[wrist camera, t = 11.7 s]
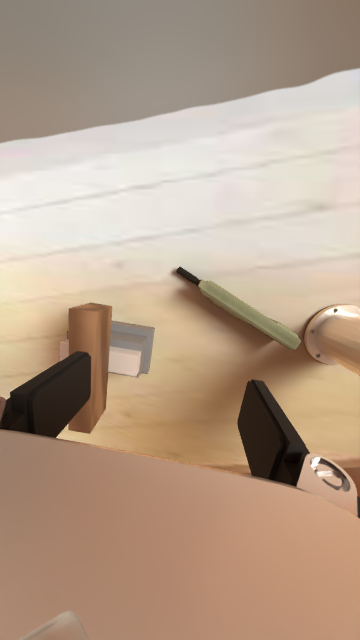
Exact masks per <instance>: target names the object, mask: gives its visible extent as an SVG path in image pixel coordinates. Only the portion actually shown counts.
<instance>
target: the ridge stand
mask: <svg viewBox="0 0 360 640" xmlns="http://www.w3.org/2000/svg"><path fill="white" fill-rule="evenodd" d="M154 329H155V328H153V327H147V326H141V325H135V324H129V323H123V322H117V321H111V334H110V350H109V365H108V372H109V373H115V374H121V375H127V376H132V377H139V375H140V373H144V374H148V371H149V368H150V360H151V353H152V345H153V337H154ZM59 353H60V361H62V360H63V359H65V358H66V357H68V356H69V331H67V339H66V340H64V341H62V342H60V343H59Z"/></svg>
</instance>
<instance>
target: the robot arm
mask: <svg viewBox="0 0 360 640" xmlns="http://www.w3.org/2000/svg"><path fill="white" fill-rule="evenodd" d="M304 342H305V347H306V349H307V351H308V352H309V354H310V355H311V356H312V357H314V358H315V359H316V360H318V361H320V362H322V363H325V364H329V365H339V364H340V365H342V366H344V367H345V368H347V369H349V370H351V371H352V372H354V373H356V374H358V375H359V376H360V307H358V306H354V305H348V304H338V305H333V306H330V307H328V308H325V309H324V310H322V311H320V312H319V313H318V314H317V315H315V316H314V317H313V319H312V320H311V321H310V323H309V324H308V326H307V328H306V331H305V336H304ZM90 395H91V356H90V355H89V353H88V352H82V351H76V352H75V353H73V354H71V355H70V356H68V357H66V358H65V359H63V360H62V361H60V362H58V363H57V364H55V365H53V366H52V367H50V368H49V369H47V370H45V371H44V372H42V373H40V374H39V375H37V376H36V377H34V378H32V379H31V380H29V381H28V382H26V383H24V384H23V385H21V386H19V387H18V388H16V389H15V390H13V391H11V392H10V398H9V399H7V400H6V399H5V398H3V397H0V640H360V498H359V497H358V496H357V490H356V486H355V484H354V482H353V480H352V479H351V478H350V477H349V475H348V474H347V473H346V472H345V471H344V470H343V469H342V468H341V467H340V466H339V465H337V464H336V463H335V462H333V461H332V460H330V459H328V458H326V457H325V456H322V455H319V454H315V453H311V454H310V452H309V451H308V449H307V448H306V445H305V444H304V442H303V441H302V439H301V438H300V436H299V435H298V433H297V431H296V430H295V428H294V427H293V425H292V424H291V422H290V421H289V419H288V418H287V416H286V415H285V413H284V412H283V410H282V409H281V407H280V406H279V404H278V403H277V401H276V400H275V398H274V397H273V395H272V394H271V392H270V391H269V389H268V388H267V386H266V385H265V383H264V382H263V381H260V380H254V379H252V380H251V382H250V381H248V383H247V386H246V390H245V394H244V398H243V402H242V405H241V409H240V413H239V417H238V429H239V432H240V436H241V439H242V443H243V446H244V450H245V453H246V457H247V460H248V464H249V467H250V470H251V474H252V476H250V475H245V474H240V473H236V472H231V471H226V470H221V469H216V468H211V467H206V466H201V465H196V464H191V463H185V462H180V461H175V460H170V459H165V458H160V457H155V456H149V455H144V454H139V453H134V452H128V451H123V450H118V449H112V448H107V447H102V446H96V445H91V444H85V443H80V442H74V441H69V440H63V439H58V438H56V437H57V436H58V435H59V433H60V432H61V431H62V430H63V429H64V428H65V427H66V425H67V424H68V423H69V422H70V421H71V420H72V419H73V417H74V416H75V415H76V414H77V413H78V412H79V411H80V409H81V408H82V407H83V406H84V405H85V404H86V402H87V401H88V400H89V398H90Z"/></svg>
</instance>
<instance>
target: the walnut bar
mask: <svg viewBox="0 0 360 640" xmlns="http://www.w3.org/2000/svg"><path fill="white" fill-rule="evenodd" d="M111 318H112V306H107V305H101V304H95V303H89V304H85V305H81V306H77V307H73V308H70V309H69V356H70V355H71V354H73V353H75V352H76V351H82V352H88V353H89V355H90V356H91V395H90V398H89V400H88V401H87V402H86V404H85V405H84V406H83V407H82V408H81V409H80V411H79V412H78V413H77V414H76V415H75V416H74V417H73V419H72V420H71V421H70V422H69V430H72V431H77V432H83V433H89V434H90V433H91V431H92V430H93V428H94V426H95V425H96V423H97V422H98V420H99V419H100V417H101V415H102V414H103V412H104V411H105V409H106V397H107V381H108V365H109V350H110V334H111Z"/></svg>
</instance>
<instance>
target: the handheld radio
mask: <svg viewBox="0 0 360 640" xmlns="http://www.w3.org/2000/svg"><path fill="white" fill-rule="evenodd" d="M177 273H178V274H180V275H181V276H183V277H184V278H186V279H187V280H189V281H190V282H192V283H194V284H196V285H197V286H198V287H200V289H199V290H200V292H201V294H203V295H204V296H205V297H207V298H208V299H210V300H212V302H213V303H214V304H216V305H217V306H219V307H220V308H222V309H224V310H225V311H227V312H228V313H230V314H231V315H233V316H235V317H236V318H238V319H239V320H243V321H244V322H246V323H249V324H250V325H252V326H253V327H255V328H256V329H258V330H259V331H261V332H263V333H264V334H266V335H267V336H269V337H270V338H272V339H274V340H275V341H277V342H278V343H280V344H282V345H284V346H285V347H287V348H288V349H290V350H296V348H297V347H298V346H299V344H300V343H301V340H300V339H299V338H298V335H297V334H296V333H294V332H293V331H291V330H290V329H288V328H287V327H285V326H284V325H282V324H281V323H279V322H277V321H274V320H272V319H270V318H267V317H266V316H264V315H263V314H261V313H260V312H258V311H257V310H255V309H254V308H252V307H250V306H249V305H247V304H246V303H244V302H243V301H241V300H240V299H238V298H237V297H235V296H234V295H232V294H230V293H229V292H227V291H226V290H224V289H223V288H221V287H220V286H218V285H217V284H215V283H214V282H212V281H204V280H199V279H198V278H197V277H195V276H194V275H192V274H191V273H189V272H188V271H186V270H184V269H183V268H181V267H179V268H178V269H177Z"/></svg>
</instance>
